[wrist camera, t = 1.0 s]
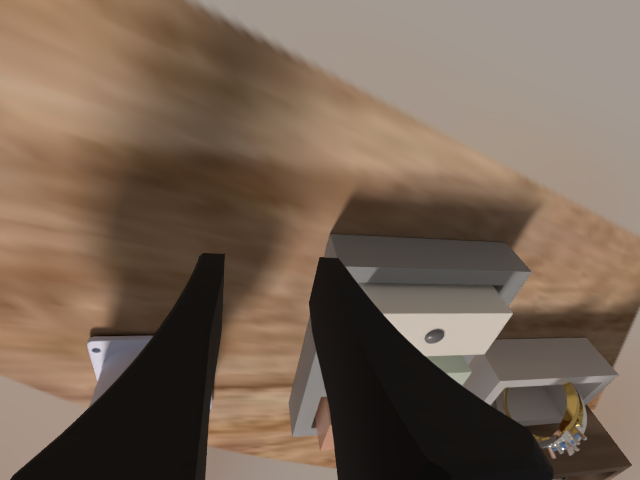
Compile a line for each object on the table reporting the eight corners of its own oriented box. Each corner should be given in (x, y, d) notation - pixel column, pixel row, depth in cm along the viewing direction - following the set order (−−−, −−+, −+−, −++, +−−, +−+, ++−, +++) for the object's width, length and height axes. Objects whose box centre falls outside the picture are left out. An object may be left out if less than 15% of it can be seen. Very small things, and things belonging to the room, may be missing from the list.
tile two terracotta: (410, 407, 34) (423, 442, 32) (314, 414, 32) (320, 452, 30) (425, 382, 32) (440, 418, 30) (323, 387, 30) (330, 426, 27)
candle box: (514, 447, 50) (552, 518, 44) (419, 457, 47) (446, 535, 41) (574, 388, 42) (632, 465, 36) (464, 395, 39) (506, 481, 33)
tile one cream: (463, 319, 27) (484, 355, 25) (345, 320, 25) (356, 359, 23) (487, 279, 25) (514, 314, 23) (359, 275, 23) (373, 315, 20)
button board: (415, 395, 37) (426, 426, 35) (288, 403, 34) (292, 436, 32) (505, 242, 26) (531, 271, 24) (329, 233, 23) (339, 266, 21)
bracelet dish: (542, 385, 40) (566, 422, 37) (441, 391, 38) (459, 431, 34) (586, 337, 36) (619, 374, 33) (475, 339, 33) (499, 381, 30)
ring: (539, 341, 34) (604, 429, 28) (552, 353, 36) (617, 438, 30) (475, 380, 37) (522, 468, 31) (490, 389, 39) (538, 474, 32)
